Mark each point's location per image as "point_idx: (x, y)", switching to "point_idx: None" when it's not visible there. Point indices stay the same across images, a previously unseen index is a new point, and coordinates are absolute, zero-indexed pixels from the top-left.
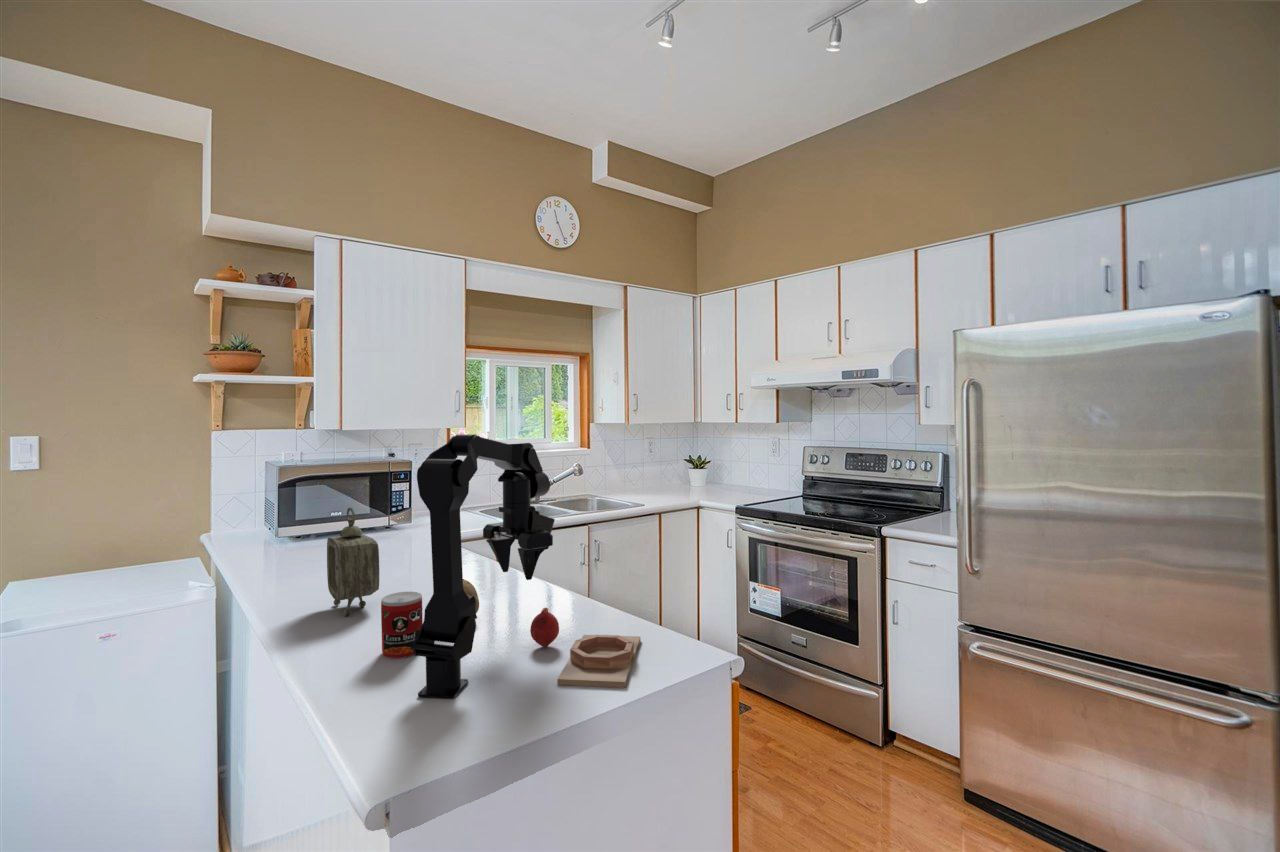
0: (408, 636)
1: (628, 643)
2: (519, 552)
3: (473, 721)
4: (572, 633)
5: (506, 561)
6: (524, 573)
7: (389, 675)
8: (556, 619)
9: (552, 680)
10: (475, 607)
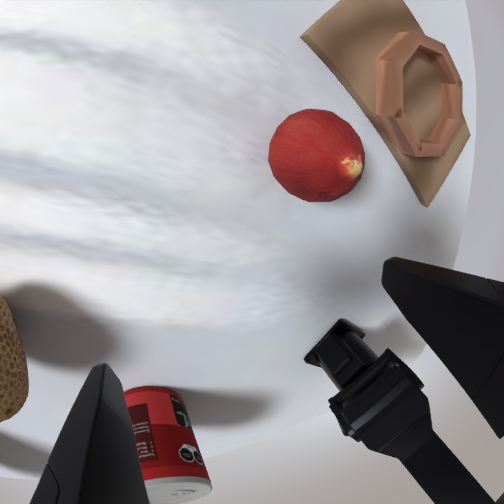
0: (191, 427)
1: (445, 55)
2: (494, 416)
3: None
4: (237, 32)
5: (111, 436)
6: (408, 316)
7: (243, 405)
8: (349, 125)
9: (409, 204)
10: (3, 313)
